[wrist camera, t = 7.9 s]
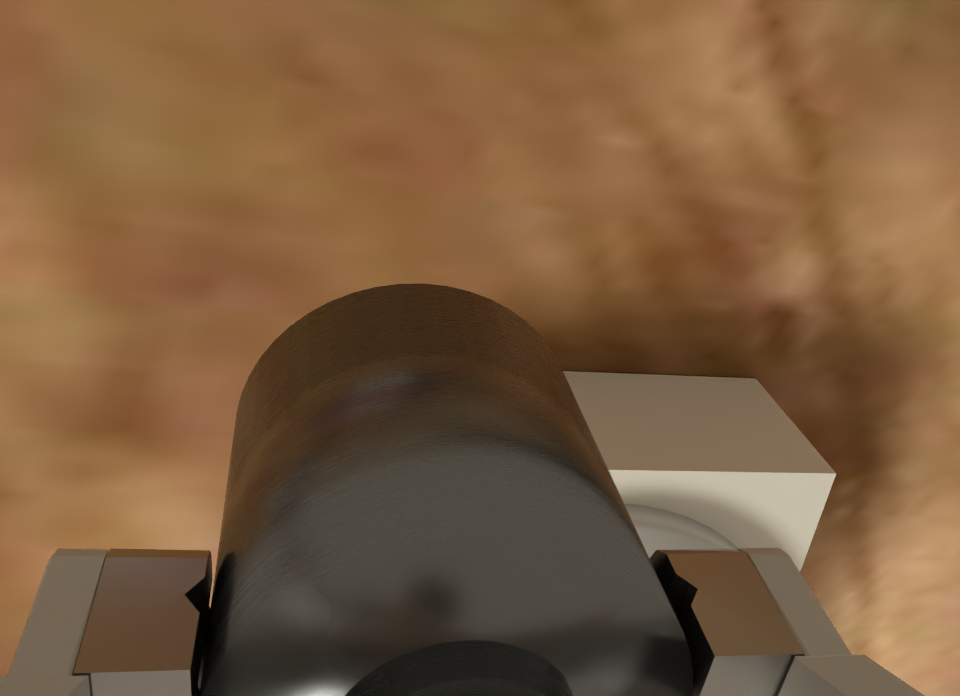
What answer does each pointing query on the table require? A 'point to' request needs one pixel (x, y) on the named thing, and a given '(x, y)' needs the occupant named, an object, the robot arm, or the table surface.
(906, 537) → the table surface
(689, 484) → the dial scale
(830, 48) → the table surface
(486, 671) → the calibration weight
